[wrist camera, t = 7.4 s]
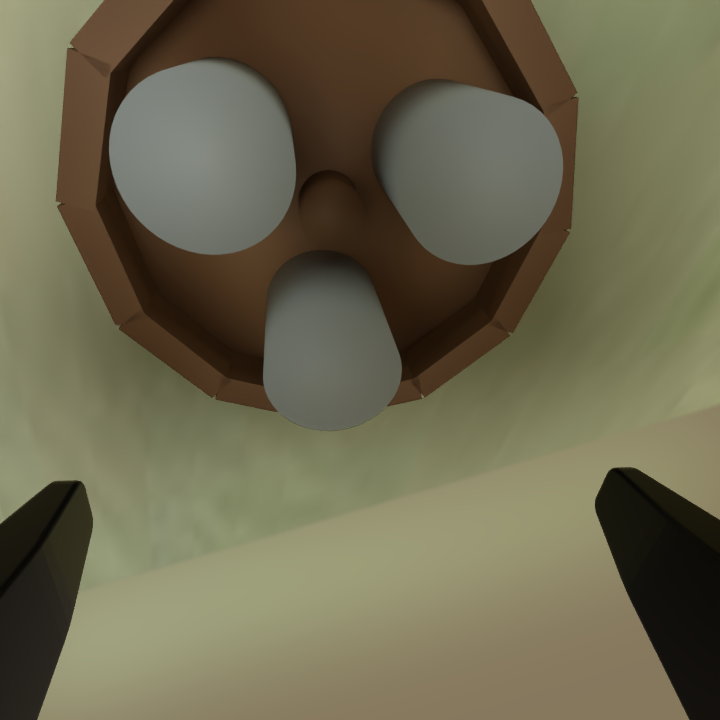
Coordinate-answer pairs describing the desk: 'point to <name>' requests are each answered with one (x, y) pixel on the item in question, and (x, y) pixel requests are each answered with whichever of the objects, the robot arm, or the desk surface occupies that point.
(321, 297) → the bead loose
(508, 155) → the seated bead
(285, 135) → the seated bead
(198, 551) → the desk surface
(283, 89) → the walnut tray
